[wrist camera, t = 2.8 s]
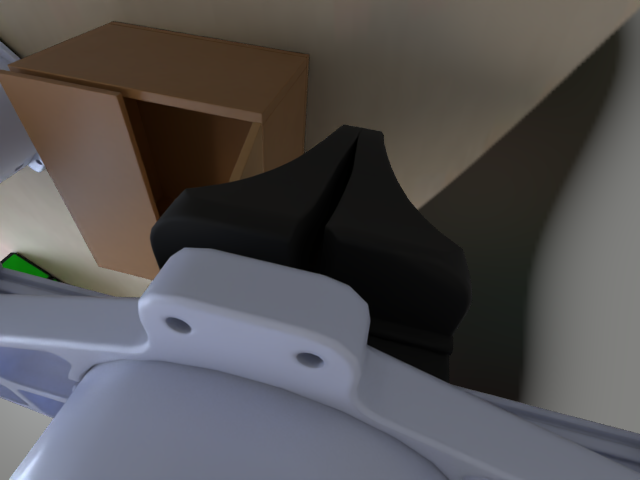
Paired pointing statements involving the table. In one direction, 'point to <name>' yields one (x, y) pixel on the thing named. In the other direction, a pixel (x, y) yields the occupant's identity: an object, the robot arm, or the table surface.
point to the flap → (250, 155)
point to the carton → (151, 124)
